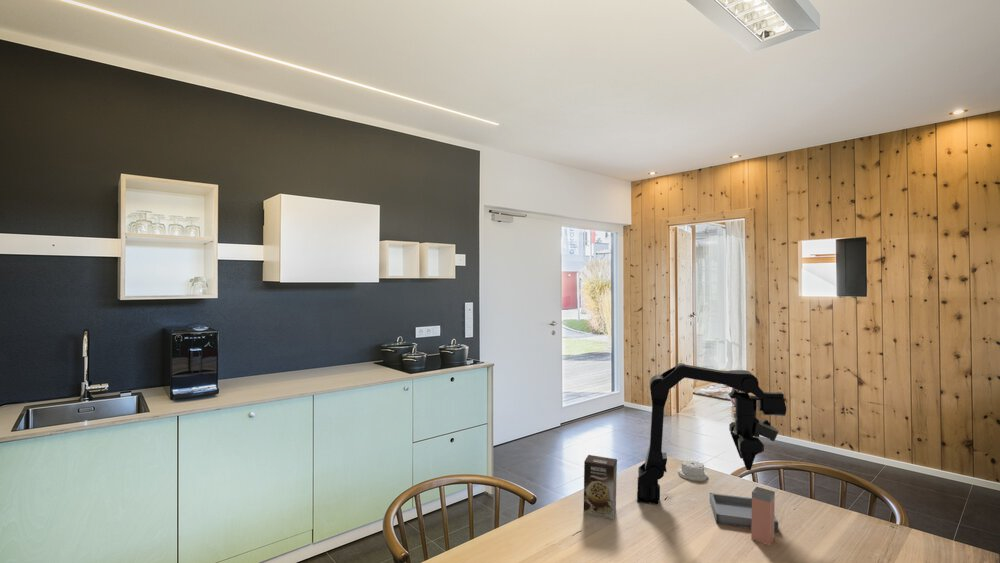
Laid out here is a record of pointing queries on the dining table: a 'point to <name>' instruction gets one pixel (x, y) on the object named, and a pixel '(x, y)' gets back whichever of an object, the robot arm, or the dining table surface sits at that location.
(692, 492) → the dining table surface
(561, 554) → the dining table surface
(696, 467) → the white round piece
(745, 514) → the tray
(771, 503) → the pink and gray block
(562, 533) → the dining table surface
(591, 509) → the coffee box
